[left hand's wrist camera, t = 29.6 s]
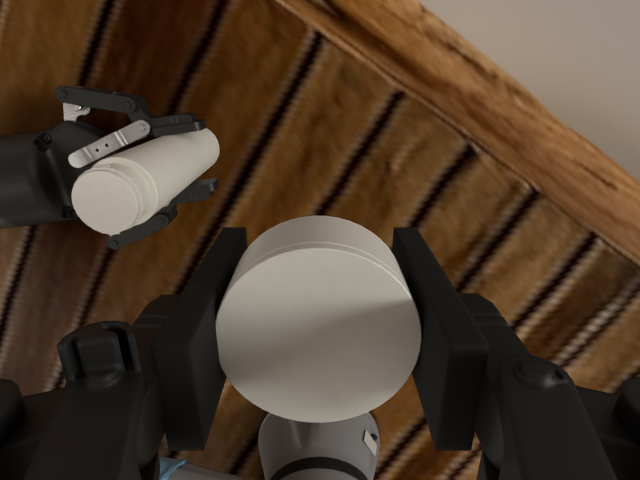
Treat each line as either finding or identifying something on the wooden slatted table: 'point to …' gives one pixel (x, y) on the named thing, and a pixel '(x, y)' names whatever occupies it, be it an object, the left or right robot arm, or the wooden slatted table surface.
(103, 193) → the off-white cylindrical rod
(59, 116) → the wooden slatted table surface
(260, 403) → the lid
